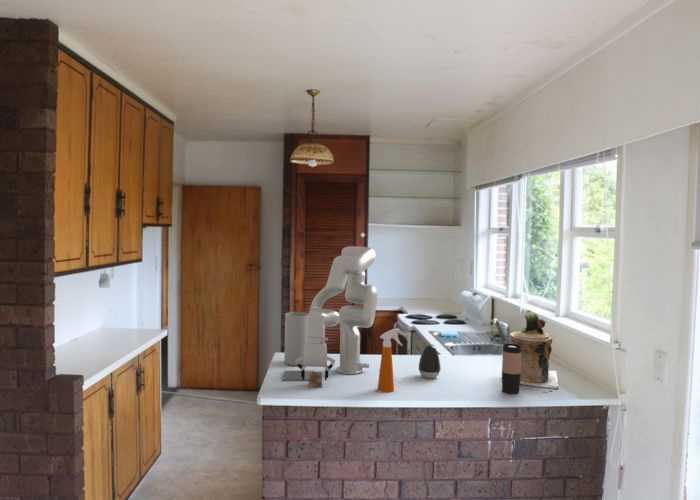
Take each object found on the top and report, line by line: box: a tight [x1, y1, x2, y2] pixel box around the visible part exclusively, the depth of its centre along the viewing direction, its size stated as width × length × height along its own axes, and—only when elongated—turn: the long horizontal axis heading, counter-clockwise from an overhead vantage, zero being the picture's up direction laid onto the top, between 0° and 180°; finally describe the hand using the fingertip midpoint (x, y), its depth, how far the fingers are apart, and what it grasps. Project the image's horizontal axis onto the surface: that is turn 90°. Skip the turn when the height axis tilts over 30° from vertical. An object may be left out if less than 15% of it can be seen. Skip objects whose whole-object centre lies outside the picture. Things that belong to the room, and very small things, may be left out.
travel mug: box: [501, 343, 521, 395], centre depth 222 cm, size 8×8×20 cm
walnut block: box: [308, 371, 323, 389], centre depth 225 cm, size 6×6×6 cm
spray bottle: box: [377, 328, 403, 393], centre depth 221 cm, size 7×11×26 cm, turn 106°
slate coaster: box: [281, 370, 315, 382], centre depth 238 cm, size 14×14×1 cm
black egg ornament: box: [418, 344, 441, 380], centre depth 241 cm, size 10×10×15 cm
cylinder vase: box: [284, 311, 309, 367], centre depth 261 cm, size 12×12×25 cm
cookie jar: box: [509, 309, 560, 390], centre depth 241 cm, size 25×25×32 cm
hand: (314, 379), depth 224 cm, fingers open, 9 cm apart
